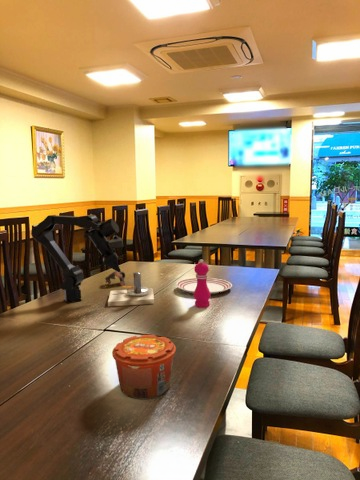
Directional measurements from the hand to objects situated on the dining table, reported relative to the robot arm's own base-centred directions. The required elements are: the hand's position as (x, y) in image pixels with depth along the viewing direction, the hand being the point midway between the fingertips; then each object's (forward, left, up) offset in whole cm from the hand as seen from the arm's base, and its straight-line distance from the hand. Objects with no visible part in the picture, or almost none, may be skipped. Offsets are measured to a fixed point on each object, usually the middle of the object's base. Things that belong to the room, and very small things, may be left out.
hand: (118, 268), depth 169 cm
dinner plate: (+40, -11, -15) cm, 44 cm away
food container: (-24, -76, -14) cm, 81 cm away
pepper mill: (+25, -31, -14) cm, 42 cm away
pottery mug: (+9, +26, -15) cm, 31 cm away
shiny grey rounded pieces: (+6, -4, -12) cm, 14 cm away
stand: (+4, -4, -14) cm, 15 cm away
